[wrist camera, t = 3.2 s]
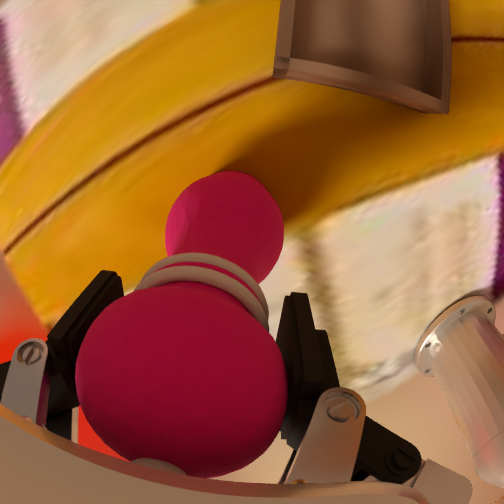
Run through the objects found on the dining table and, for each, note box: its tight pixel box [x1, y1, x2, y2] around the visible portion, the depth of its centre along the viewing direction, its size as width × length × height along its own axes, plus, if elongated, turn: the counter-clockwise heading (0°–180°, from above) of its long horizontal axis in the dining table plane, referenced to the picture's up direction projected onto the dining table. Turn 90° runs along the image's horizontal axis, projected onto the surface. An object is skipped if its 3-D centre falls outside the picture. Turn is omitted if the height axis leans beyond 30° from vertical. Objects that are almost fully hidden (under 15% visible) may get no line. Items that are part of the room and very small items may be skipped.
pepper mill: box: [75, 171, 288, 479], centre depth 12 cm, size 7×7×20 cm
